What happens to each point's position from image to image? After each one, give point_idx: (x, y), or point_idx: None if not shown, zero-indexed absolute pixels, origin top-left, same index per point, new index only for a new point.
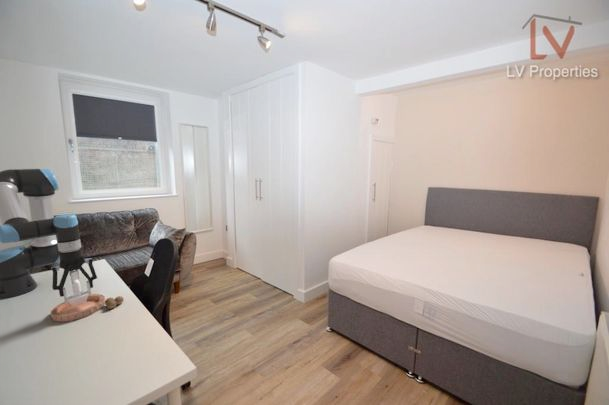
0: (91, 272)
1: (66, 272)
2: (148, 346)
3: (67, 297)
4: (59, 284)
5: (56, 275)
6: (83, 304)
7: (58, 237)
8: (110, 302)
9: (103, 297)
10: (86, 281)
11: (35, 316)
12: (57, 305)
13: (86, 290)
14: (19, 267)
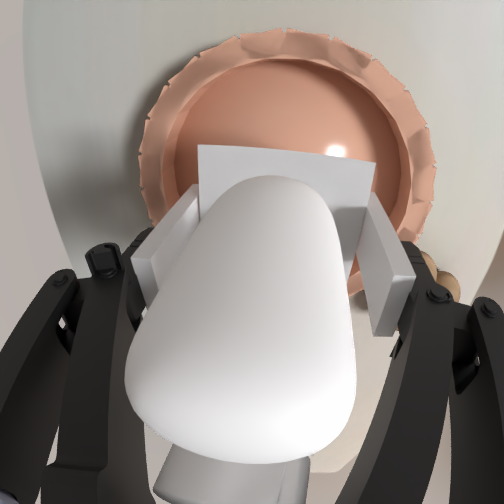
0: (464, 419)
1: None
2: (333, 450)
3: (204, 214)
4: (88, 307)
5: (40, 462)
6: (315, 134)
7: None
8: (397, 329)
9: (420, 219)
10: (391, 287)
11: (94, 71)
12: (165, 86)
13: (363, 183)
14: None
